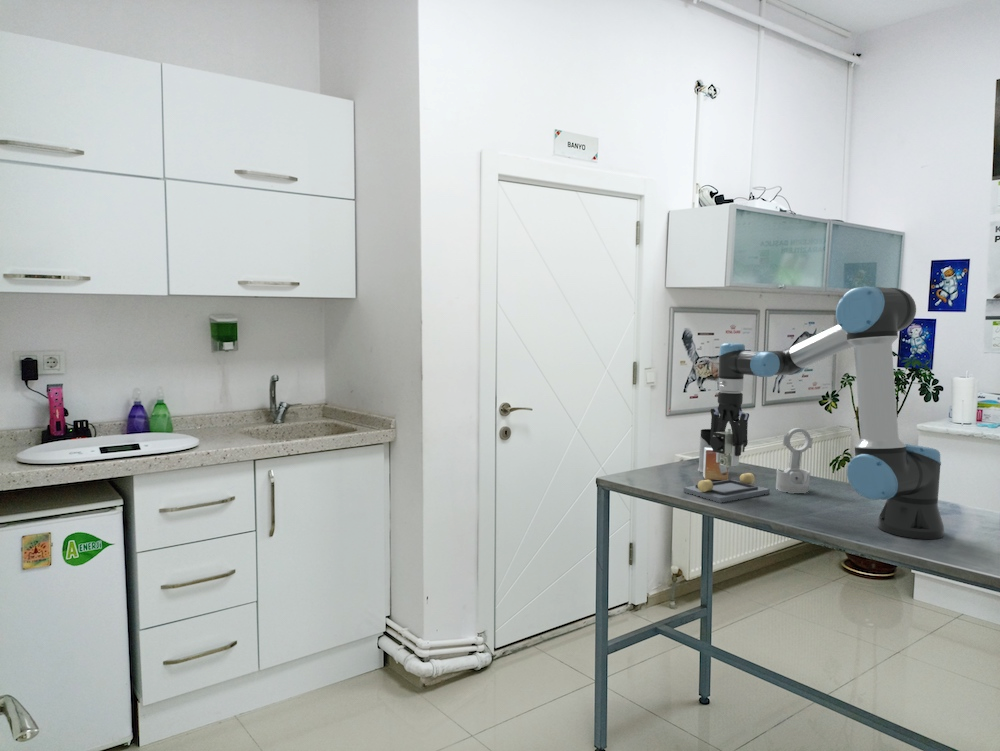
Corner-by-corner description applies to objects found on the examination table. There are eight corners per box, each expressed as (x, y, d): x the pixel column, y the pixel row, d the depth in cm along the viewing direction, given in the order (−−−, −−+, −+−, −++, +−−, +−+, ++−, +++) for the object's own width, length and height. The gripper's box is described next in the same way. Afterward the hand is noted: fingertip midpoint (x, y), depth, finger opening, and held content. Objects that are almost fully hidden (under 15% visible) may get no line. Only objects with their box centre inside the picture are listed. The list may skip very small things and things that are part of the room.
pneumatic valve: (747, 466, 224) (748, 429, 223) (719, 469, 219) (720, 431, 218) (734, 462, 229) (736, 426, 228) (706, 465, 224) (708, 428, 223)
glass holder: (694, 468, 261) (695, 428, 260) (731, 468, 262) (732, 428, 261) (702, 473, 252) (703, 432, 251) (740, 473, 253) (742, 432, 252)
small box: (704, 479, 243) (705, 449, 242) (702, 476, 248) (703, 446, 248) (728, 480, 242) (729, 450, 241) (726, 477, 247) (727, 447, 246)
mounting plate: (731, 483, 237) (732, 468, 237) (769, 493, 224) (770, 477, 224) (683, 492, 225) (683, 475, 225) (720, 502, 212) (720, 485, 212)
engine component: (770, 486, 235) (783, 493, 225) (773, 425, 233) (787, 430, 223) (802, 486, 235) (817, 493, 225) (805, 426, 233) (820, 430, 223)
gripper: (699, 389, 228) (697, 459, 230) (746, 395, 212) (742, 470, 214) (715, 388, 232) (713, 457, 234) (762, 394, 216) (758, 468, 218)
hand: (727, 463), depth 224 cm, fingers closed on pneumatic valve, 5 cm apart
